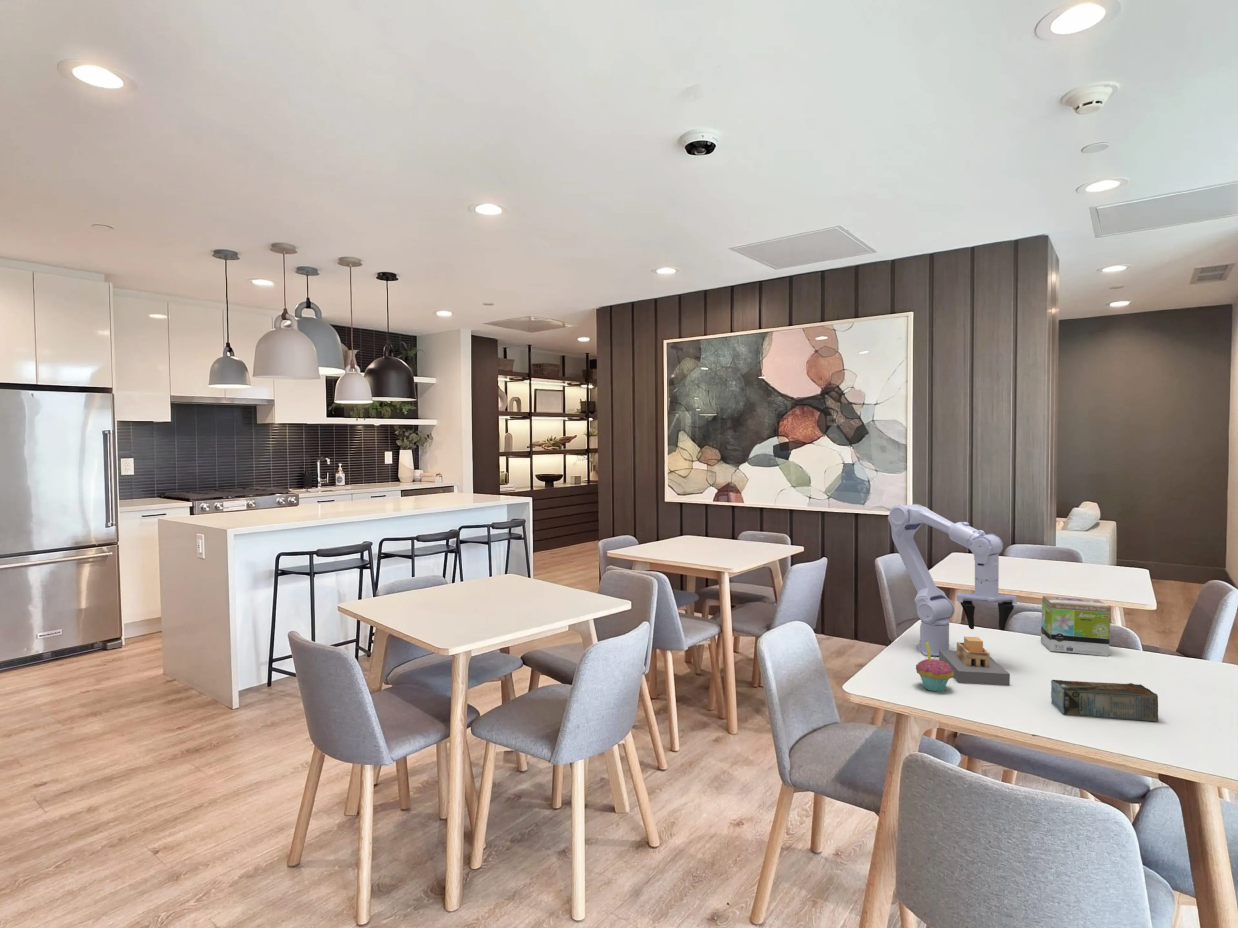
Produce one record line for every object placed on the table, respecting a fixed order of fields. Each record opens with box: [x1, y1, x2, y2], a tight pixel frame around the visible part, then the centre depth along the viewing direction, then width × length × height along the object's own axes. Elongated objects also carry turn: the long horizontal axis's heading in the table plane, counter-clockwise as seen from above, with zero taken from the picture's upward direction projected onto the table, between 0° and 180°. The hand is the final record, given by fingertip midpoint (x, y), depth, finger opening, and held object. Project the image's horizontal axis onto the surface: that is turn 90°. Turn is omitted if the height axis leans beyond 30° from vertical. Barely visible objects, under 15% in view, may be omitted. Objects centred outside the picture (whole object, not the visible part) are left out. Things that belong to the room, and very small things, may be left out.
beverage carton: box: [1050, 679, 1159, 722], centre depth 156 cm, size 8×19×7 cm, turn 77°
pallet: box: [956, 641, 991, 667], centre depth 183 cm, size 9×5×4 cm, turn 170°
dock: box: [938, 650, 1011, 687], centre depth 183 cm, size 18×12×3 cm, turn 169°
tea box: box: [1040, 595, 1112, 657], centre depth 203 cm, size 15×10×15 cm, turn 73°
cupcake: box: [915, 639, 954, 692], centre depth 172 cm, size 9×8×12 cm
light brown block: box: [963, 636, 984, 652], centre depth 183 cm, size 4×4×3 cm
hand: (986, 628), depth 188 cm, fingers open, 7 cm apart
